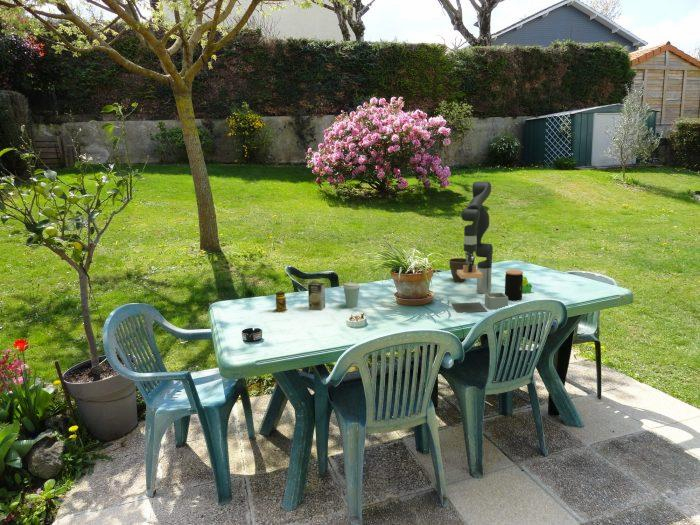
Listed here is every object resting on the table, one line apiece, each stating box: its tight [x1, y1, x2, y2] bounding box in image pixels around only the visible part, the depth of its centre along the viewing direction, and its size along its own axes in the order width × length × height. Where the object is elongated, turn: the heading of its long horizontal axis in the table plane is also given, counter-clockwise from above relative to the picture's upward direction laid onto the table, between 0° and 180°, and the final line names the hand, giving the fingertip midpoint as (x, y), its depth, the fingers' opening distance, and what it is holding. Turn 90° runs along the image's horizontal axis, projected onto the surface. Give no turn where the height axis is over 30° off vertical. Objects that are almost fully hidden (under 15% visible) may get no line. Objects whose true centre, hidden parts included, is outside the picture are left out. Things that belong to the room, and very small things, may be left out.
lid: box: [457, 264, 483, 280], centre depth 300 cm, size 13×13×6 cm
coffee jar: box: [504, 269, 524, 302], centre depth 318 cm, size 11×11×18 cm
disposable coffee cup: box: [342, 282, 361, 309], centre depth 315 cm, size 11×11×15 cm
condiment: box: [271, 290, 289, 313], centre depth 311 cm, size 7×8×12 cm
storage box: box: [484, 292, 509, 310], centre depth 306 cm, size 11×11×7 cm
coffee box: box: [307, 281, 326, 311], centre depth 313 cm, size 9×6×16 cm
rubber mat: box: [450, 301, 488, 314], centre depth 305 cm, size 18×18×1 cm
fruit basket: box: [522, 276, 533, 294], centre depth 333 cm, size 11×9×11 cm
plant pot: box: [448, 257, 467, 283], centre depth 365 cm, size 15×15×16 cm
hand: (469, 271), depth 300 cm, fingers closed on lid, 3 cm apart
